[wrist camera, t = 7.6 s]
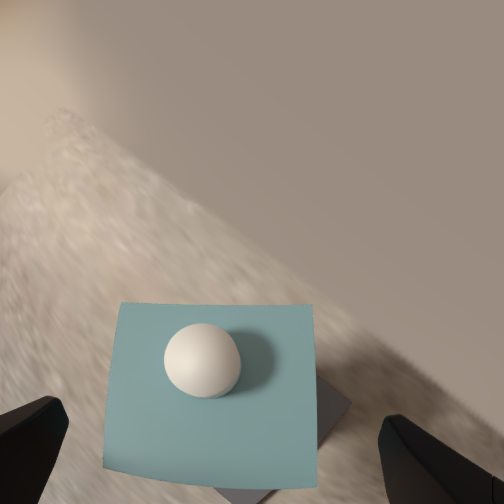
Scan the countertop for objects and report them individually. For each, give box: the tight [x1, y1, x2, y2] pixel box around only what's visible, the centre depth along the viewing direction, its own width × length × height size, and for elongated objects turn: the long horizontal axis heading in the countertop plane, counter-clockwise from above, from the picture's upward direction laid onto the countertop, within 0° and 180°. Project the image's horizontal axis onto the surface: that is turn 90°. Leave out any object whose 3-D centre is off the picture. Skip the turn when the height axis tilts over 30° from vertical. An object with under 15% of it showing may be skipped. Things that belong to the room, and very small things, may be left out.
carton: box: [103, 302, 317, 489], centre depth 11 cm, size 5×5×12 cm
